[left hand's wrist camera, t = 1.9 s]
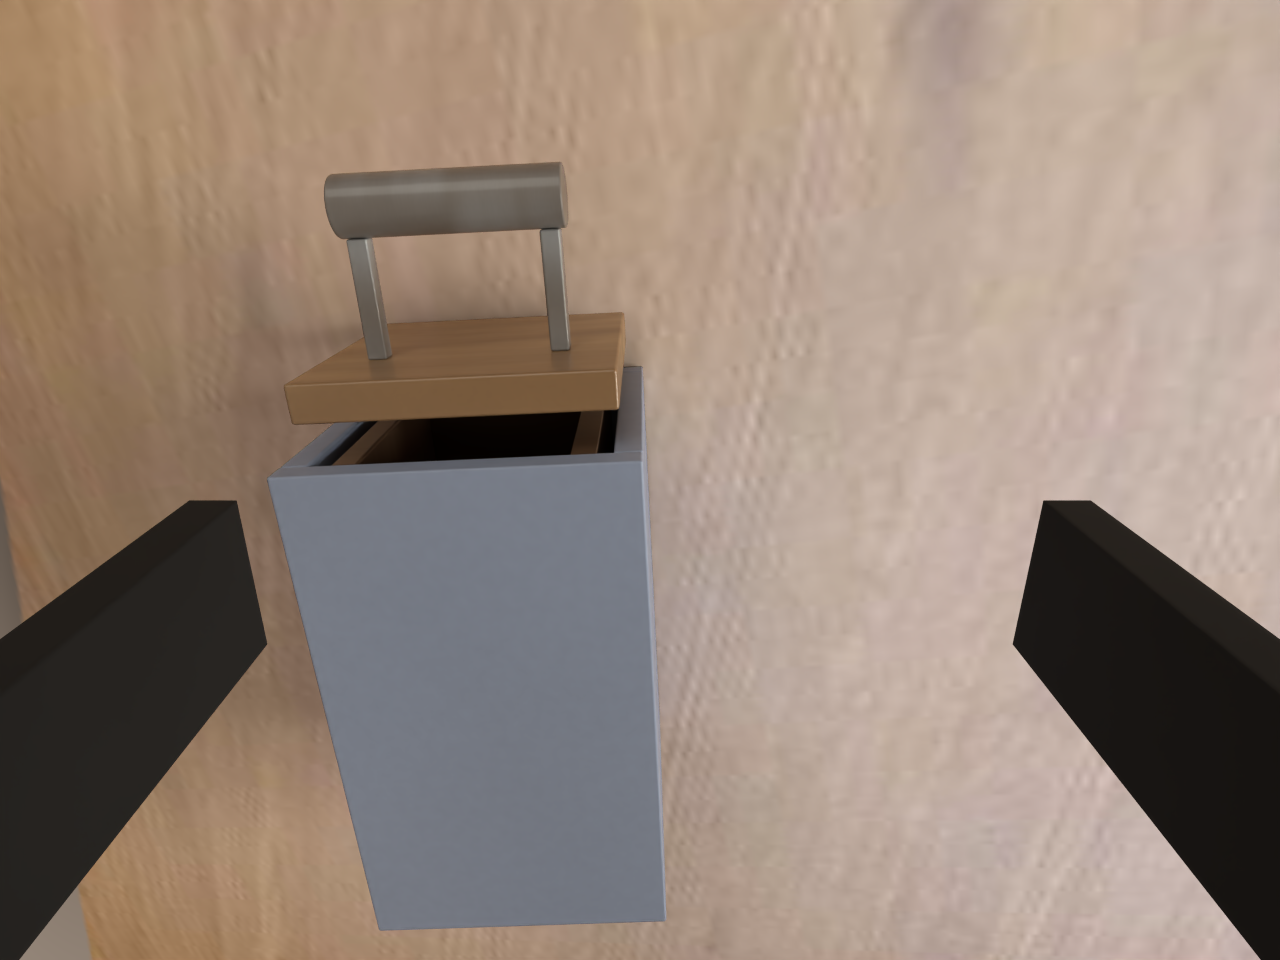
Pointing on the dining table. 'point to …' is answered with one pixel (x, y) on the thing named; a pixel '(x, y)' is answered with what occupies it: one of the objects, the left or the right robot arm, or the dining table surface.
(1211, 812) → the left robot arm
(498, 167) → the drawer
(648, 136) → the dining table surface
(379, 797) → the cabinet
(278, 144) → the dining table surface
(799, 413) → the dining table surface
